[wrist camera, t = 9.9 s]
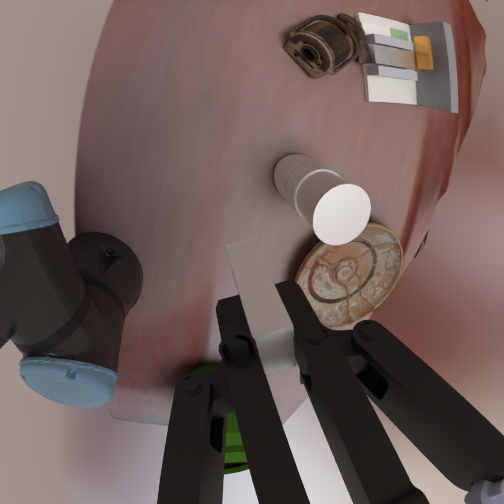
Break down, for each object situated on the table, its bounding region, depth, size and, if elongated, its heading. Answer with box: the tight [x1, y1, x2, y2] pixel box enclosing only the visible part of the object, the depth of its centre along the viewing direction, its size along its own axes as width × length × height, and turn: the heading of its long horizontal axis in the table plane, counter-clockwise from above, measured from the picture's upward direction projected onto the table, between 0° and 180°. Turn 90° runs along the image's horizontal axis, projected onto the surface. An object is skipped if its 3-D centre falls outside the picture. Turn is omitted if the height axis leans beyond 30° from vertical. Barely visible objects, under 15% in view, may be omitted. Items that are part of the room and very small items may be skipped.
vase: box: [191, 365, 249, 474], centre depth 49 cm, size 20×20×24 cm
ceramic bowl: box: [294, 222, 403, 329], centre depth 49 cm, size 23×24×5 cm
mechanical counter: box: [284, 13, 366, 79], centre depth 26 cm, size 7×13×10 cm
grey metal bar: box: [358, 36, 434, 71], centre depth 26 cm, size 10×6×6 cm, turn 98°
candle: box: [274, 154, 371, 245], centre depth 32 cm, size 7×7×15 cm
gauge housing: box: [355, 12, 458, 113], centre depth 27 cm, size 12×15×9 cm
